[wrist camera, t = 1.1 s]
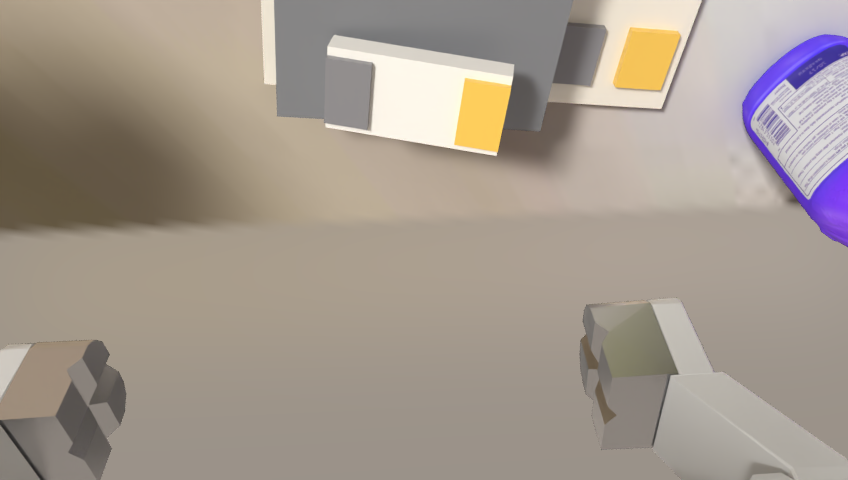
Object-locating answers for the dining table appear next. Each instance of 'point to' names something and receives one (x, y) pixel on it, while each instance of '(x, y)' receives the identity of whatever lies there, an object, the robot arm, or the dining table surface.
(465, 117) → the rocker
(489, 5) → the switch unit
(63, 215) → the dining table surface
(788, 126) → the bottle
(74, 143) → the dining table surface
